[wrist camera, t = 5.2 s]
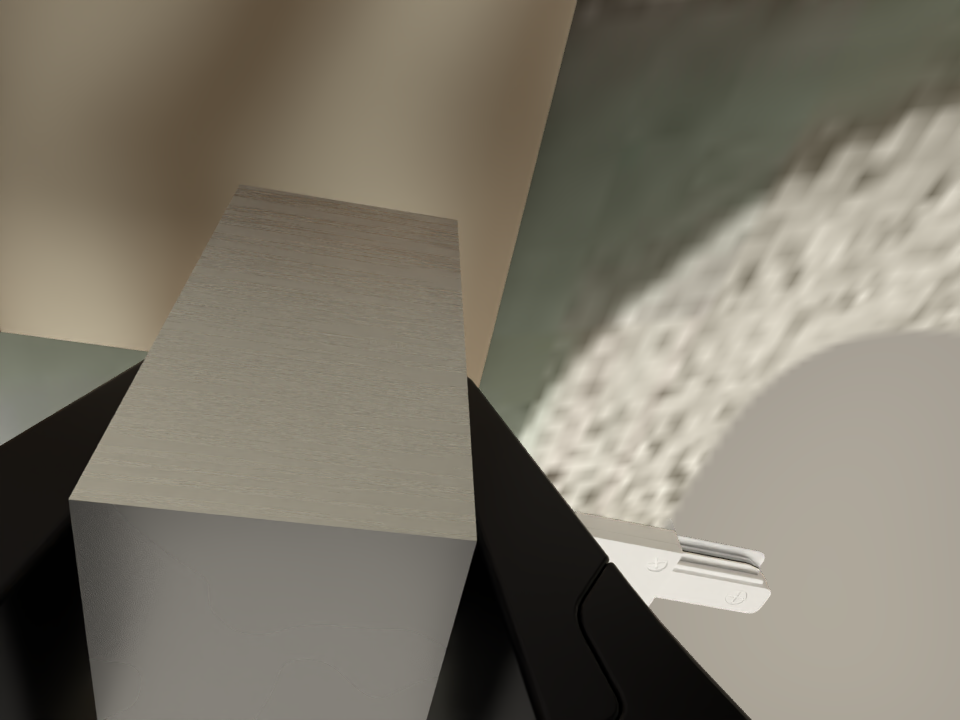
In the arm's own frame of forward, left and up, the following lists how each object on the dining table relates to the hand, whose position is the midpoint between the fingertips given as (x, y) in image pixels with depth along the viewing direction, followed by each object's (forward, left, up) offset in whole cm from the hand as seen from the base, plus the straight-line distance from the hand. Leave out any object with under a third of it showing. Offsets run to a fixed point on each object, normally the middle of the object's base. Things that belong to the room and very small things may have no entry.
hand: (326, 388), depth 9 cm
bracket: (+2, +2, -1) cm, 3 cm away
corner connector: (-12, +16, -12) cm, 23 cm away
